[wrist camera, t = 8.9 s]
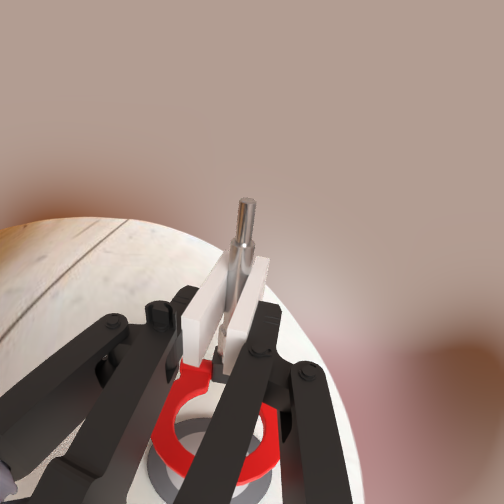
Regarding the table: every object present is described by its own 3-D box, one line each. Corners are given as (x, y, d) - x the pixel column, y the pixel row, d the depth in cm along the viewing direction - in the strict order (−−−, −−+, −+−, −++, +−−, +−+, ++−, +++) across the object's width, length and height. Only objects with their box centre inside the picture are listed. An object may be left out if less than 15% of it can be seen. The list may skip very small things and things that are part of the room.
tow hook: (284, 495, 11) (286, 378, 19) (411, 353, 5) (335, 209, 13) (136, 470, 11) (173, 360, 19) (37, 292, 5) (165, 185, 13)
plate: (150, 419, 23) (149, 415, 22) (258, 419, 25) (259, 415, 25) (149, 517, 13) (147, 516, 13) (281, 512, 15) (284, 511, 15)
